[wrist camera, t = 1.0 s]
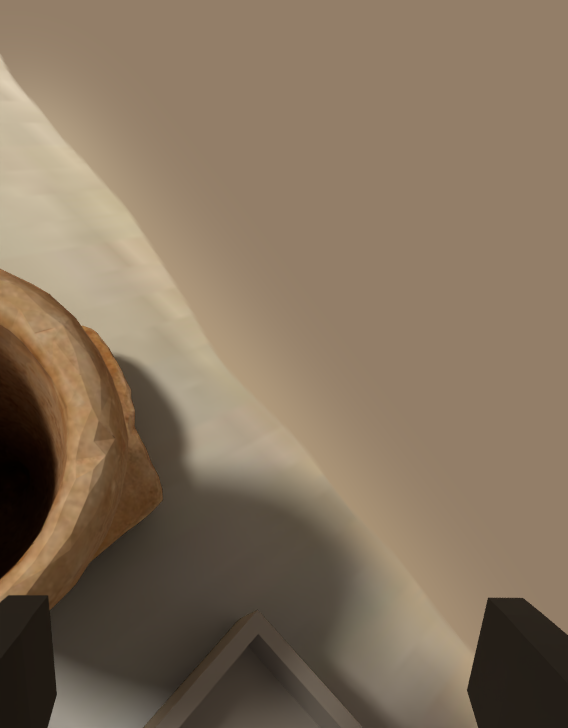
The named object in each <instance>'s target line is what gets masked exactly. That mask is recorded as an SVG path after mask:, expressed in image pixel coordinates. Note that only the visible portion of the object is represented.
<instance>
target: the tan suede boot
mask: <svg viewBox="0 0 568 728" xmlns="http://www.w3.org/2000/svg"><path fill="white" fill-rule="evenodd" d="M134 424H135V409H134V405H133V402H132V399H131V389H130V387H129V385H128V383H127V381H126V379H125V377H124V375H123V372H122V370H121V369H120V367H119V365H118V363H117V361H116V360H115V358H114V356H113V354H112V353H111V351H110V349H109V347H108V346H107V345H106V344H105V342H104V341H103V340H102V339H101V337H100V336H99V335H98V333H97V332H95V331H94V330H93V329H91V328H88V327H85V326H81V325H80V323H79V322H78V321H77V319H76V318H75V317H74V316H73V315H72V314H71V313H70V312H69V311H67V310H66V309H65V308H64V307H63V306H62V305H61V304H60V303H59V302H57V301H56V300H55V299H54V298H53V297H52V296H51V295H50V294H48V293H47V292H45V291H43V290H41V289H40V288H38V287H36V286H35V285H33V284H31V283H29V282H27V281H25V280H23V279H20V278H18V277H16V276H14V275H12V274H10V273H8V272H6V271H4V270H1V269H0V602H1V601H2V600H3V599H4V598H6V597H7V596H8V595H48V598H49V610H51V609H52V608H53V607H54V606H55V605H56V604H57V603H58V602H59V601H60V600H61V599H62V598H63V597H64V596H65V595H66V594H67V593H68V592H69V591H70V590H71V589H72V588H73V587H74V586H75V585H76V583H77V582H78V580H79V579H80V577H81V575H82V574H83V572H84V571H85V569H86V568H87V566H88V564H89V563H90V562H91V561H92V560H93V559H95V558H96V557H97V556H98V555H99V554H100V553H102V552H103V551H104V550H105V549H106V548H108V547H109V546H110V545H111V544H112V543H114V542H115V541H116V540H117V539H118V538H119V537H121V536H122V535H123V534H124V533H125V532H127V531H128V530H130V529H131V528H132V527H134V526H135V525H136V524H138V523H139V522H140V521H142V520H143V519H144V518H145V517H146V516H148V515H149V514H150V513H151V512H152V511H153V510H154V509H155V508H156V507H157V506H158V505H159V504H160V503H161V501H162V500H163V496H162V487H161V483H160V479H159V476H158V474H157V472H156V470H155V468H154V466H153V465H152V463H151V460H150V458H149V455H148V453H147V450H146V448H145V446H144V444H143V442H142V441H141V439H140V436H139V434H138V433H137V430H136V428H135V426H134Z"/></svg>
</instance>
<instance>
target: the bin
mask: <svg viewBox="0 0 568 728" xmlns="http://www.w3.org/2000/svg"><path fill="white" fill-rule="evenodd" d="M143 728H363V727H362V726H361V725H360V724H359V722H358V721H357V720H356V719H355V718H354V717H353V716H352V715H351V713H350V712H349V711H348V710H347V709H346V708H345V707H344V706H343V705H342V703H341V702H340V701H339V700H338V699H337V698H336V697H335V696H334V694H333V693H332V692H331V691H330V690H329V689H328V688H327V687H326V686H325V684H324V683H323V682H322V681H321V680H320V679H319V678H318V677H317V675H316V674H315V673H314V672H313V671H312V670H311V669H310V668H309V666H308V665H307V664H306V663H305V662H304V661H303V660H302V659H301V658H300V656H299V655H298V654H297V653H296V652H295V651H294V650H293V649H292V647H291V646H290V645H289V644H288V643H287V642H286V641H285V640H284V638H283V637H282V636H281V635H280V634H279V633H278V632H277V631H276V630H275V628H274V627H273V626H272V625H271V624H270V623H269V622H268V621H267V619H266V618H265V617H264V616H263V615H262V614H261V613H260V612H259V611H258V610H256V611H254V612H252V613H250V614H248V615H246V616H244V617H242V618H240V619H239V620H238V621H237V622H236V623H235V625H234V626H233V627H232V628H231V629H230V630H229V631H228V632H227V634H226V635H225V636H224V637H223V638H222V639H221V640H220V641H219V643H218V644H217V645H216V646H215V647H214V648H213V649H212V651H211V652H210V653H209V654H208V655H207V656H206V657H205V658H204V660H203V661H202V662H201V663H200V664H199V665H198V666H197V667H196V669H195V670H194V671H193V672H192V673H191V674H190V675H189V676H188V678H187V679H186V680H185V681H184V682H183V683H182V684H181V686H180V687H179V688H178V689H177V690H176V691H175V692H174V693H173V695H172V696H171V697H170V698H169V699H168V700H167V701H166V702H165V704H164V705H163V706H162V707H161V708H160V709H159V710H158V711H157V713H156V714H155V715H154V716H153V717H152V718H151V719H150V721H149V722H148V723H147V724H146V725H145V726H144V727H143Z"/></svg>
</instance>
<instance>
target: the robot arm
mask: <svg viewBox="0 0 568 728" xmlns="http://www.w3.org/2000/svg"><path fill="white" fill-rule="evenodd" d="M467 692H468V695H469V698H470V702H471V705H472V708H473V712H474V715H475V718H476V722H477V725H478V728H568V635H567V634H566V633H565V632H563V631H562V630H561V629H560V628H558V627H557V626H556V625H555V624H554V623H553V622H552V621H550V620H549V619H548V618H547V617H546V616H544V615H543V614H542V613H541V612H540V611H538V610H537V609H536V608H534V607H533V606H532V605H531V604H530V603H528V602H527V601H526V600H525V599H523V598H488V600H487V605H486V609H485V613H484V618H483V622H482V627H481V631H480V636H479V640H478V645H477V649H476V653H475V657H474V662H473V666H472V671H471V675H470V679H469V684H468V688H467ZM56 695H57V691H56V679H55V668H54V656H53V644H52V633H51V621H50V610H49V598H48V595H8V596H7V597H6V598H4V599H3V600H2V601H1V602H0V728H47V727H48V724H49V720H50V717H51V713H52V709H53V706H54V702H55V699H56Z"/></svg>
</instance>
